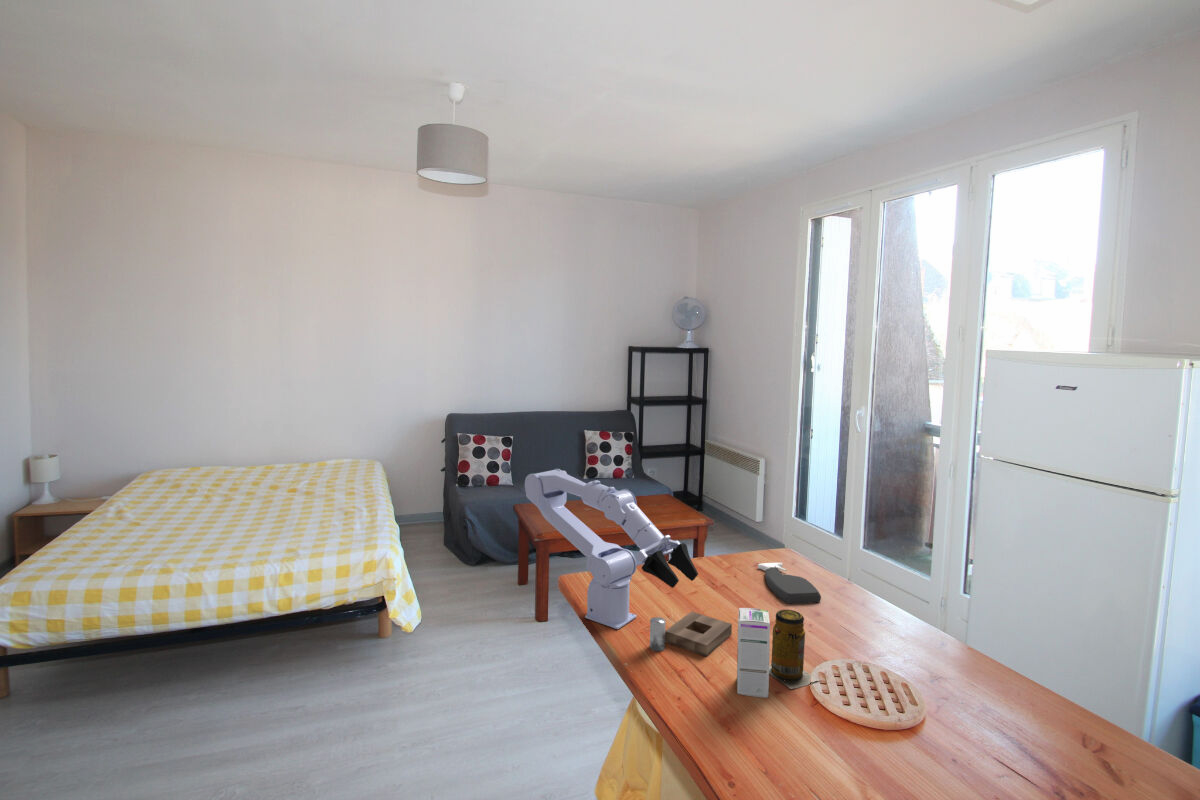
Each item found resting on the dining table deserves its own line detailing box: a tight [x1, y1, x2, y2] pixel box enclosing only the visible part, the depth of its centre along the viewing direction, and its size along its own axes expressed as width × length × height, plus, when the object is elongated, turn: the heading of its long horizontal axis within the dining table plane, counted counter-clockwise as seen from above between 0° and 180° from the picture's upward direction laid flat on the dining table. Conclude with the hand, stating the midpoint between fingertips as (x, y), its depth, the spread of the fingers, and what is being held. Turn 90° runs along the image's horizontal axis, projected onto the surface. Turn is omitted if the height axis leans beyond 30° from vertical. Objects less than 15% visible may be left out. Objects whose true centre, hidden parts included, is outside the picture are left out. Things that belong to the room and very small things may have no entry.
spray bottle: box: [757, 562, 822, 605], centre depth 166 cm, size 3×11×24 cm
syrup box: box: [736, 607, 771, 699], centre depth 116 cm, size 6×6×14 cm
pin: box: [649, 616, 667, 652], centre depth 131 cm, size 3×3×6 cm
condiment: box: [769, 609, 812, 690], centre depth 121 cm, size 7×8×12 cm
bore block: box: [665, 611, 733, 658], centre depth 135 cm, size 10×12×2 cm
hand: (685, 580), depth 129 cm, fingers open, 7 cm apart
